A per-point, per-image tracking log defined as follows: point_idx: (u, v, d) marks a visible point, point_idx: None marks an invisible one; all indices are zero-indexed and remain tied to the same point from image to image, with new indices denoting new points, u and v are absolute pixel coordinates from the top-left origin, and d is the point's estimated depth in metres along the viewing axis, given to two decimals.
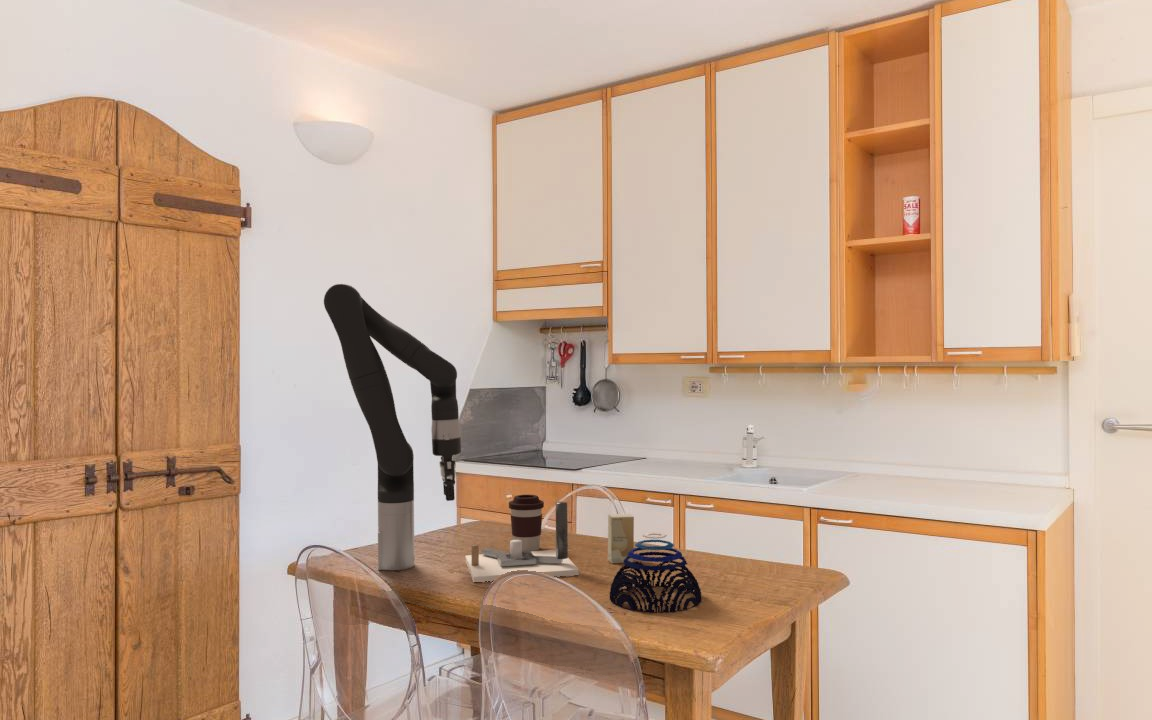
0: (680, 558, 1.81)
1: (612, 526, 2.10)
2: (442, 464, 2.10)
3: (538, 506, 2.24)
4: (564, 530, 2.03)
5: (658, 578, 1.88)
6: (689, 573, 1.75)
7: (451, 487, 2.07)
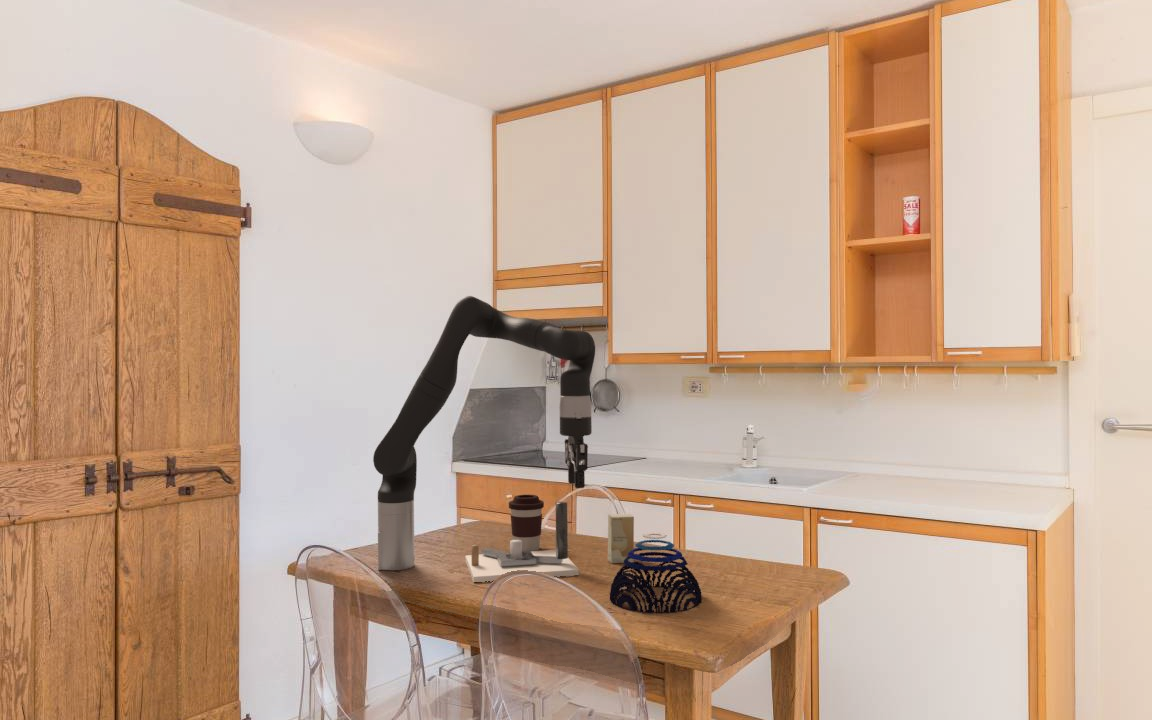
0: (680, 558, 1.80)
1: (612, 526, 2.10)
2: (571, 446, 1.87)
3: (538, 506, 2.24)
4: (564, 530, 2.03)
5: (658, 578, 1.88)
6: (689, 573, 1.75)
7: (582, 473, 1.85)
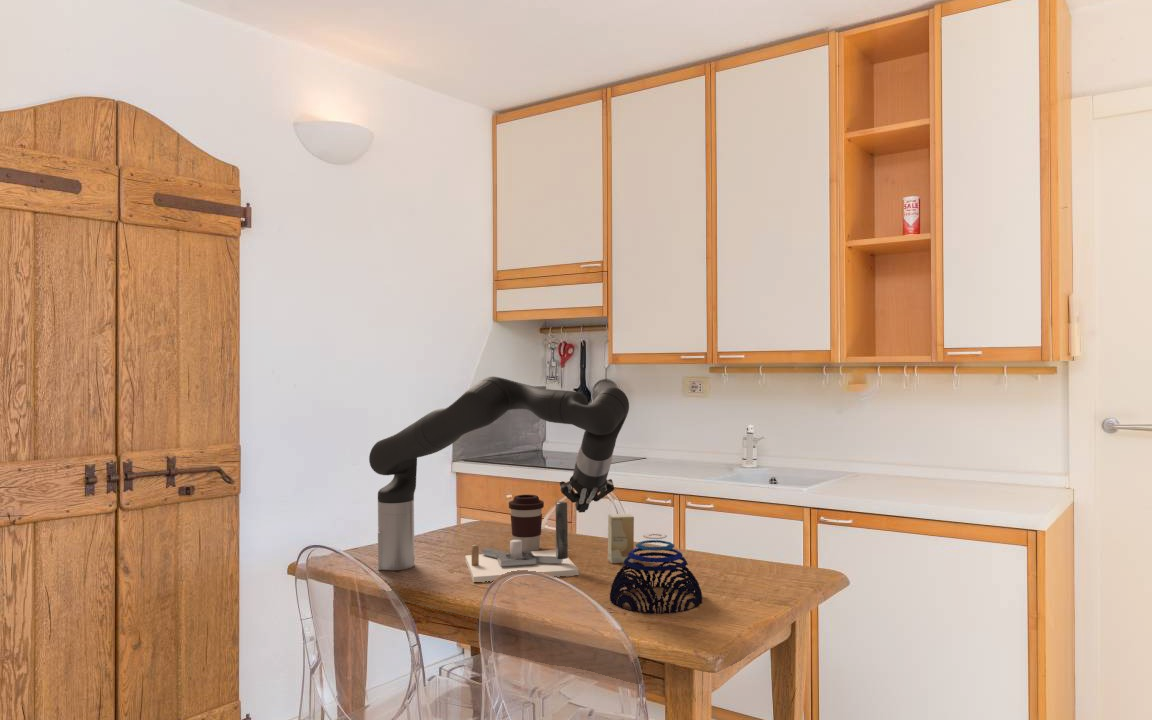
0: (680, 559, 1.80)
1: (612, 526, 2.10)
2: None
3: (538, 506, 2.24)
4: (564, 530, 2.03)
5: (658, 579, 1.88)
6: (690, 574, 1.75)
7: None
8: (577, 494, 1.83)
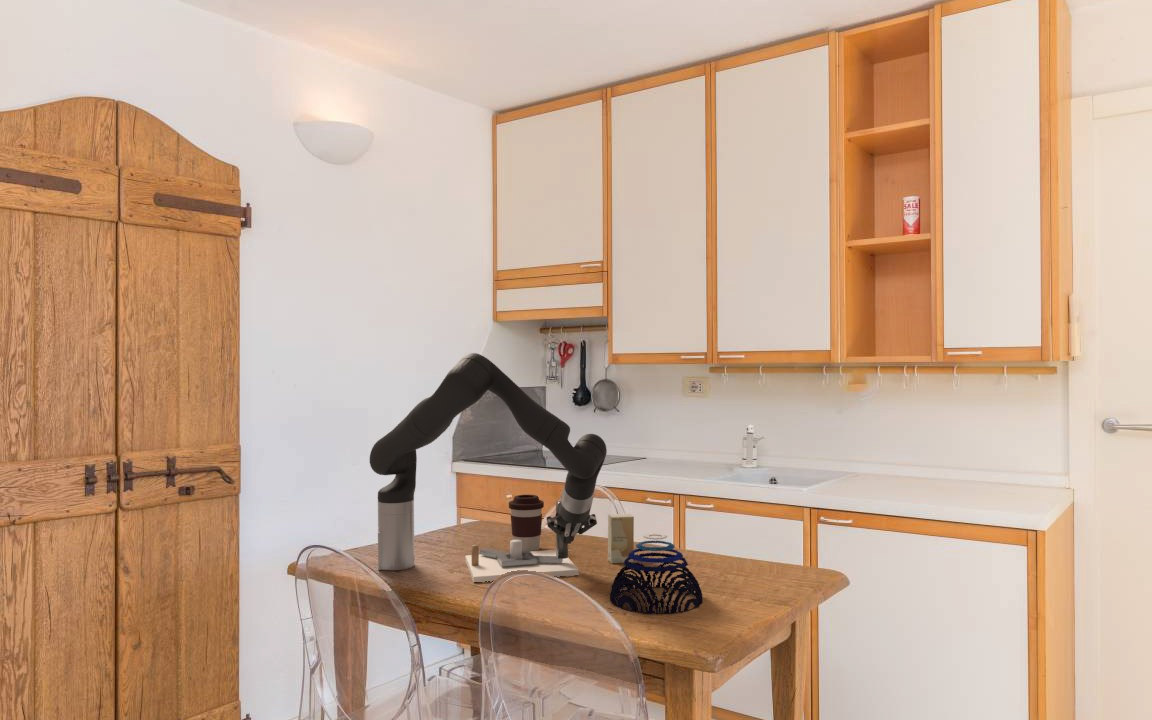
0: (681, 559, 1.80)
1: (612, 526, 2.10)
2: None
3: (538, 506, 2.24)
4: None
5: (659, 579, 1.87)
6: (690, 574, 1.74)
7: None
8: (563, 527, 1.99)
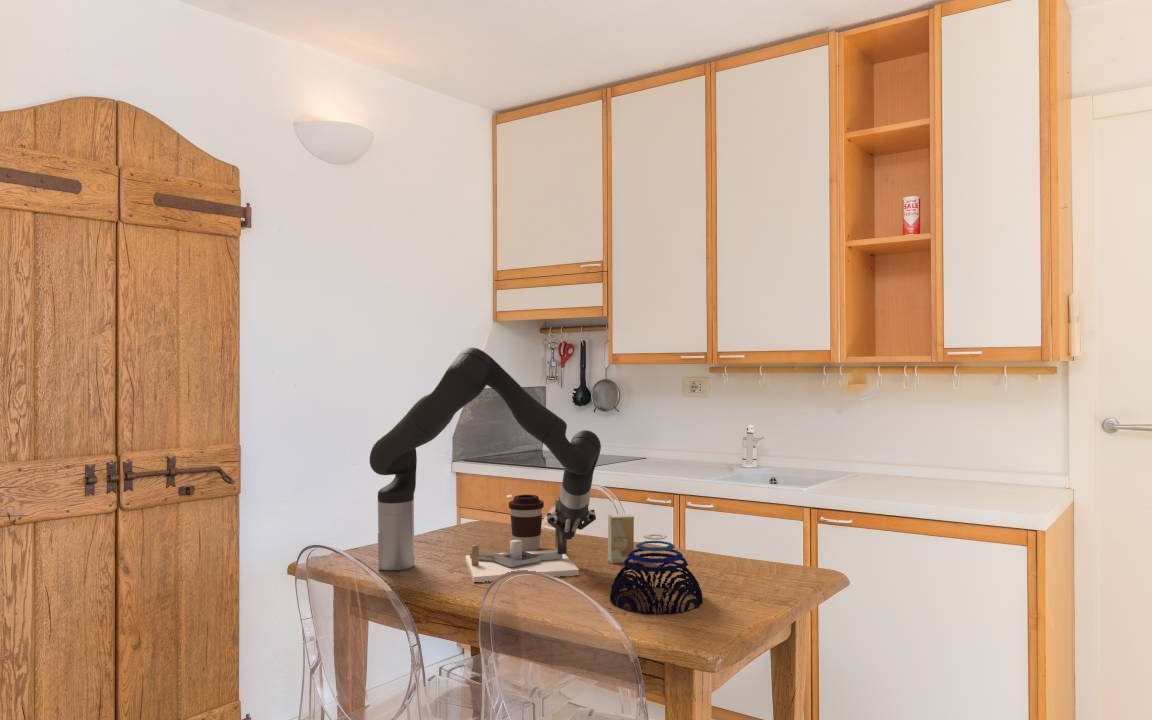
0: (681, 559, 1.80)
1: (612, 526, 2.10)
2: None
3: (538, 506, 2.24)
4: None
5: (659, 579, 1.87)
6: (690, 574, 1.74)
7: None
8: (563, 523, 2.04)
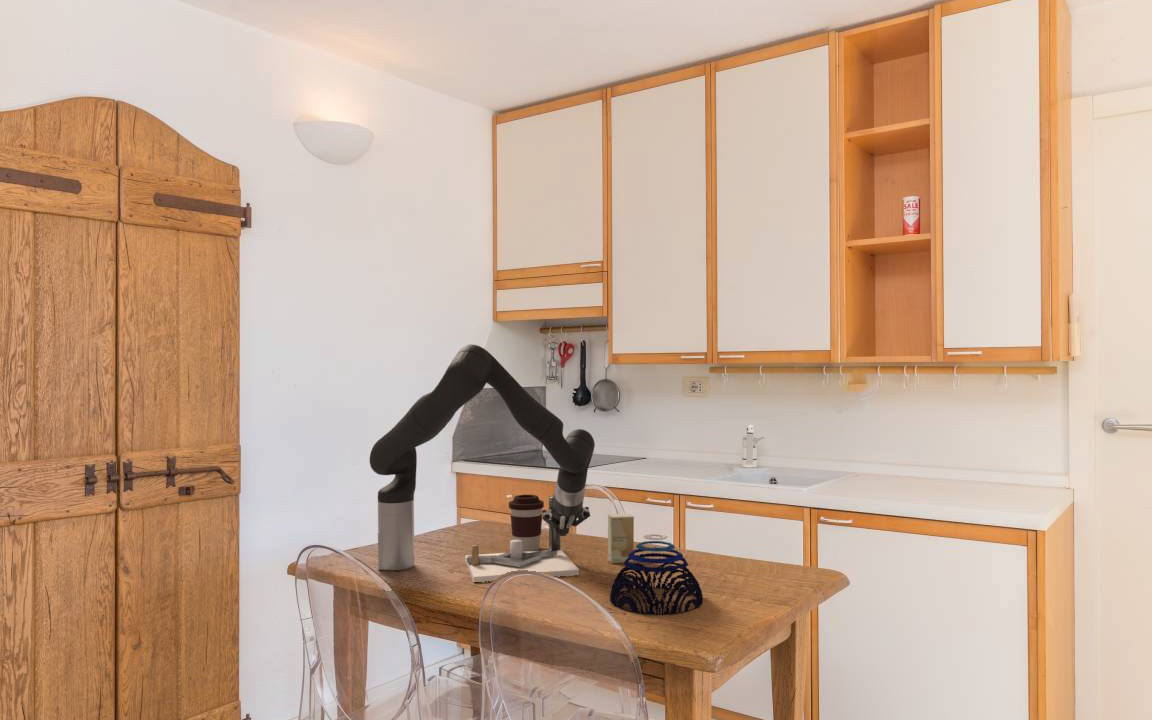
0: (681, 559, 1.79)
1: (612, 526, 2.10)
2: None
3: (538, 506, 2.24)
4: None
5: (659, 580, 1.87)
6: (690, 575, 1.74)
7: None
8: (558, 520, 2.08)
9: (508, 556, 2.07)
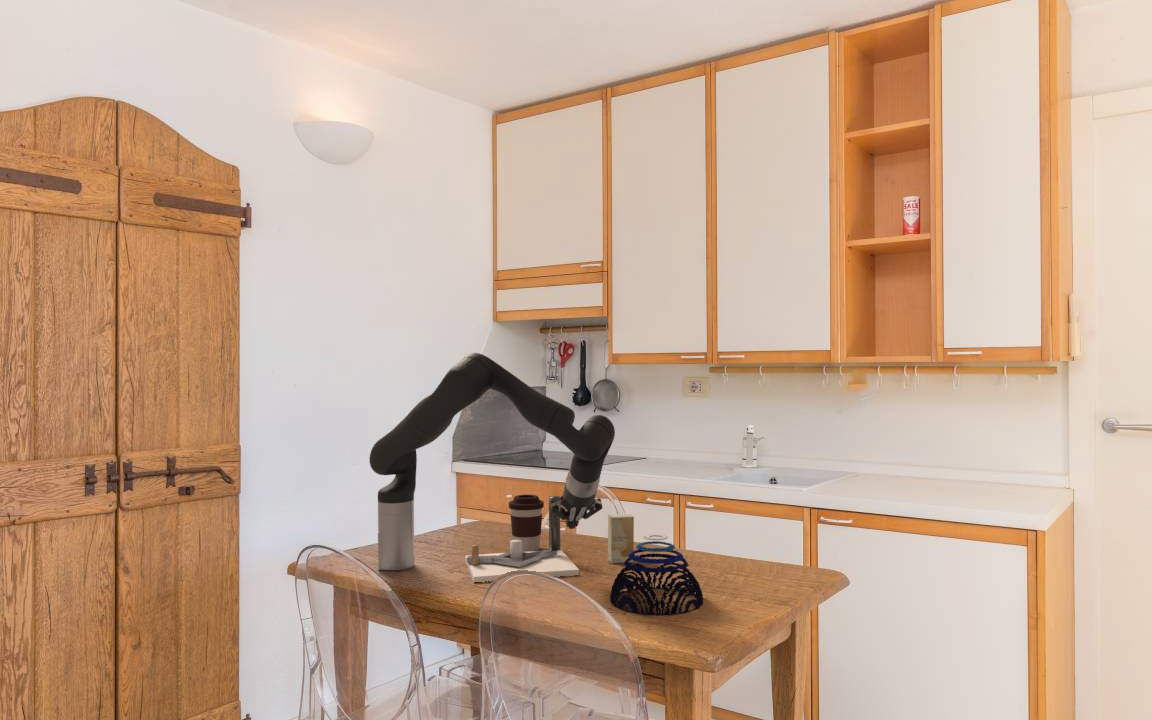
0: (681, 560, 1.79)
1: (612, 526, 2.10)
2: None
3: (538, 506, 2.24)
4: (559, 522, 2.13)
5: (659, 580, 1.86)
6: (690, 575, 1.73)
7: None
8: (567, 512, 1.93)
9: (508, 556, 2.07)
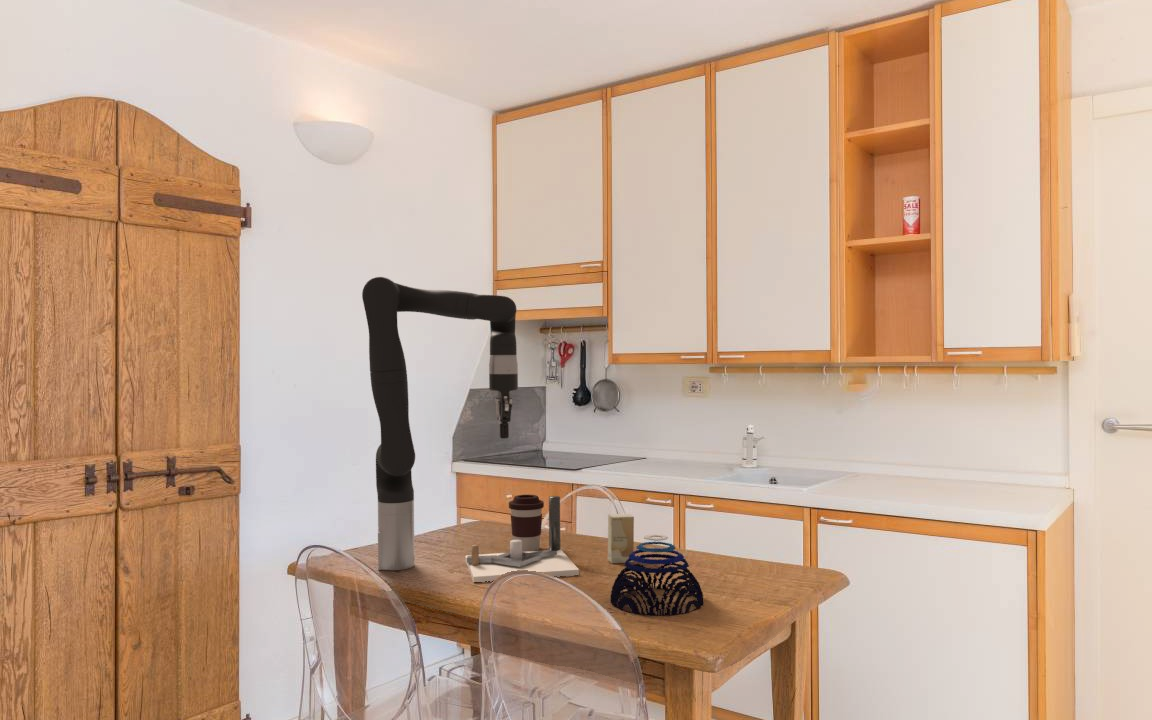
0: (682, 560, 1.78)
1: (612, 526, 2.10)
2: None
3: (538, 506, 2.24)
4: (559, 522, 2.13)
5: (659, 580, 1.86)
6: (691, 576, 1.73)
7: None
8: None
9: (508, 556, 2.07)
